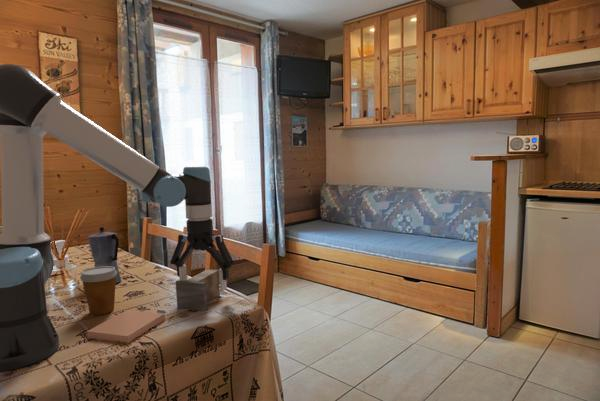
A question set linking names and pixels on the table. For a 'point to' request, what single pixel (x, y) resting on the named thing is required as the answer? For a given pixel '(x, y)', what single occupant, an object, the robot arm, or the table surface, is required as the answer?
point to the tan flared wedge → (198, 290)
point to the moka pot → (105, 250)
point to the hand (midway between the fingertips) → (203, 288)
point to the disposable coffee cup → (99, 288)
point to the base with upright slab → (59, 250)
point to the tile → (126, 326)
